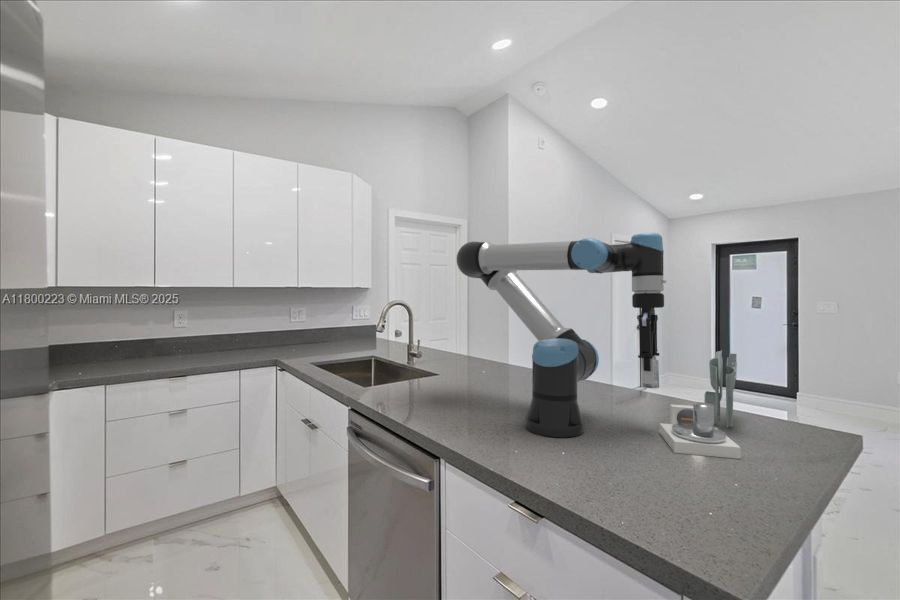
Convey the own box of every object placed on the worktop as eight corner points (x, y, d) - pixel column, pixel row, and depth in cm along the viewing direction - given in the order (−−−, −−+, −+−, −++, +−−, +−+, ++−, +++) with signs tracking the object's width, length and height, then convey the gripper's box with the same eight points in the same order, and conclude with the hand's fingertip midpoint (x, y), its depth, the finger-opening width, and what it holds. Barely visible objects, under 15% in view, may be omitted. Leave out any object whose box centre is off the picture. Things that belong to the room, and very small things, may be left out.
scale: (674, 452, 92) (674, 421, 91) (657, 429, 107) (657, 403, 107) (740, 459, 88) (741, 427, 88) (712, 434, 104) (713, 407, 104)
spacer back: (640, 387, 105) (640, 360, 105) (643, 384, 109) (642, 358, 109) (657, 388, 103) (657, 361, 103) (660, 386, 106) (659, 359, 106)
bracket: (733, 439, 101) (734, 359, 101) (699, 433, 105) (700, 356, 105) (736, 414, 123) (737, 348, 123) (709, 410, 127) (709, 346, 127)
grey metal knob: (690, 431, 95) (690, 401, 95) (709, 433, 94) (710, 402, 94) (696, 437, 91) (696, 406, 91) (716, 438, 90) (716, 407, 90)
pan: (678, 440, 92) (679, 435, 92) (666, 425, 102) (666, 421, 102) (734, 445, 89) (734, 440, 89) (715, 429, 100) (715, 425, 100)
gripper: (659, 291, 97) (660, 389, 97) (668, 292, 111) (669, 378, 111) (625, 292, 101) (627, 386, 101) (638, 293, 115) (639, 375, 115)
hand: (649, 381), depth 106 cm, fingers closed on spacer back, 4 cm apart
